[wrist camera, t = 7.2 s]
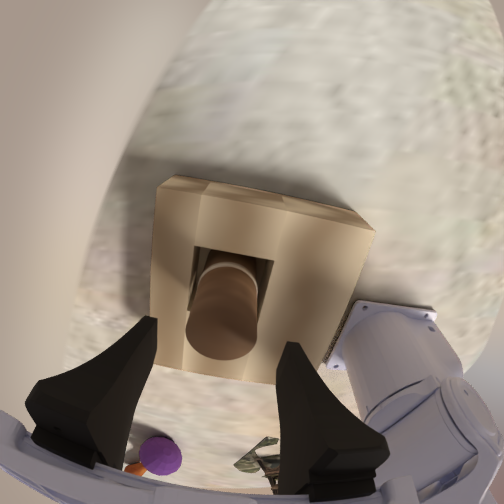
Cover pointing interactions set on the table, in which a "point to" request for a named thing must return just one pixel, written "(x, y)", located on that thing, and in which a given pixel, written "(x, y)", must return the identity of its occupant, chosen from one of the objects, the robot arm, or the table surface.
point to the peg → (225, 307)
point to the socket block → (267, 264)
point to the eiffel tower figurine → (262, 463)
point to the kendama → (157, 457)
